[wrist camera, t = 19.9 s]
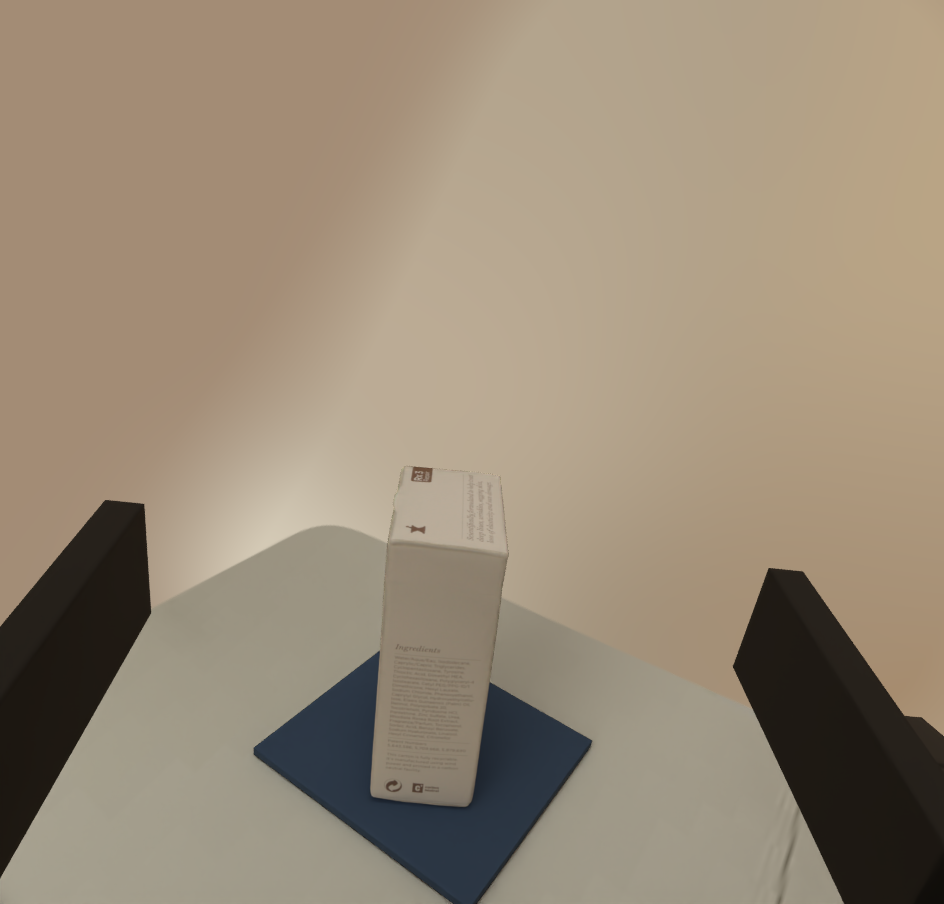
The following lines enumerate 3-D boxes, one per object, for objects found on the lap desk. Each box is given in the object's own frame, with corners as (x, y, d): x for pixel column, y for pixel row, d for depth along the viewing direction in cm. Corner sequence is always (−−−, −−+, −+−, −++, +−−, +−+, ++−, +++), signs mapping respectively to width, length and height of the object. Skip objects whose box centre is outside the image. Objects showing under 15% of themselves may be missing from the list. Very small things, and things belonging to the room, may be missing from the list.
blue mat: (253, 754, 32) (253, 747, 32) (402, 638, 40) (403, 632, 40) (468, 915, 27) (469, 908, 27) (590, 746, 35) (592, 740, 35)
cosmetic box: (474, 811, 30) (521, 557, 25) (361, 801, 30) (385, 543, 25) (473, 699, 36) (511, 472, 31) (378, 690, 36) (400, 459, 31)
